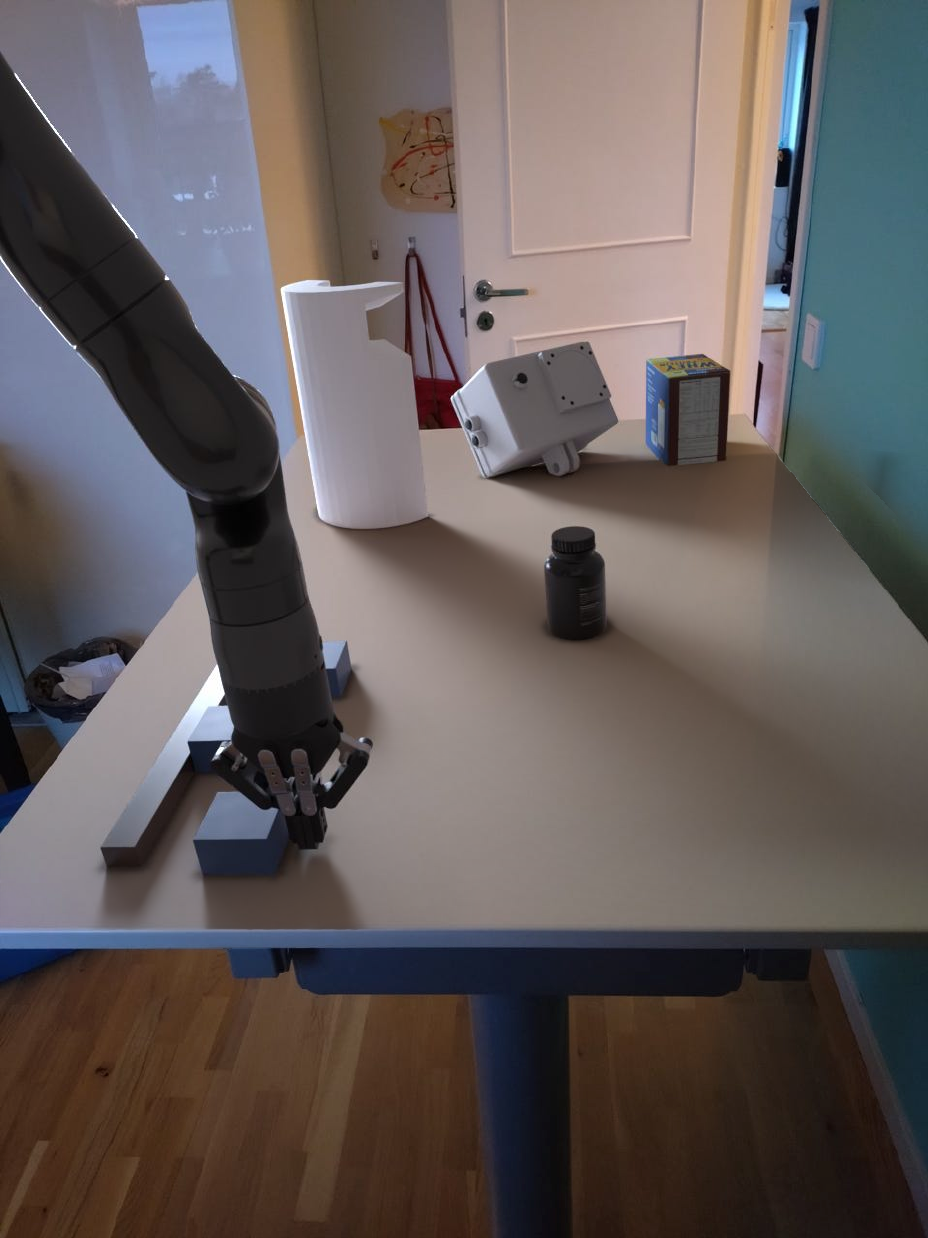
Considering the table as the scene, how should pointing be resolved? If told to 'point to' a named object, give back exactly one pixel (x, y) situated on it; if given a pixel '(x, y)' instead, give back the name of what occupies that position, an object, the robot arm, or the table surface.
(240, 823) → the near block
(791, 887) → the table surface
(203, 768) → the middle block
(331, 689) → the far block
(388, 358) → the white tall curved block
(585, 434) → the junction box
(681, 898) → the table surface
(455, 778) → the table surface
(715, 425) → the protein box
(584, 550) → the supplement bottle
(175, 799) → the straightedge
